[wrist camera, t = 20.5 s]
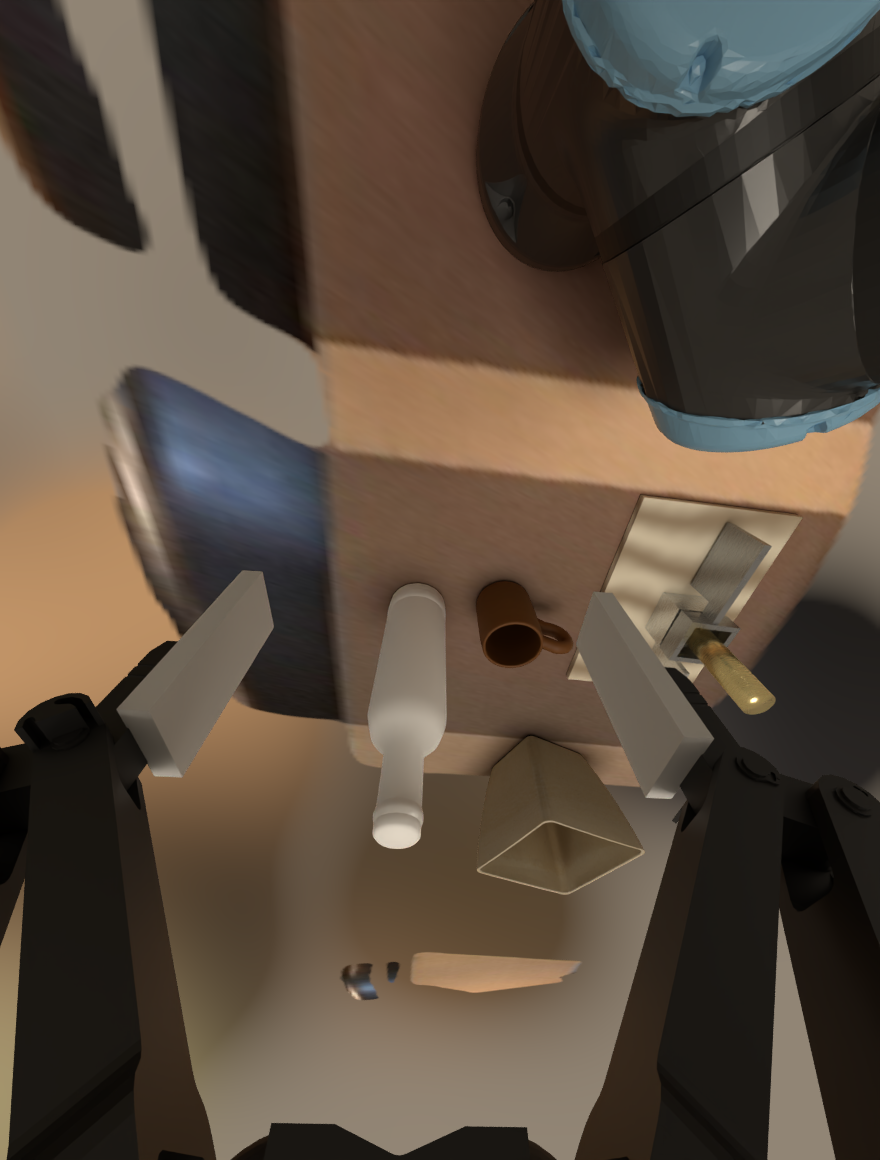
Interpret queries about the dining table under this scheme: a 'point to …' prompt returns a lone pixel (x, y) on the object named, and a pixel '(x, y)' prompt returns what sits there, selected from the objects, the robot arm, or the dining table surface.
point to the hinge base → (671, 622)
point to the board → (680, 557)
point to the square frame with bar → (717, 591)
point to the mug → (515, 627)
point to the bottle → (407, 709)
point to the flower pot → (551, 821)
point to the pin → (730, 672)
